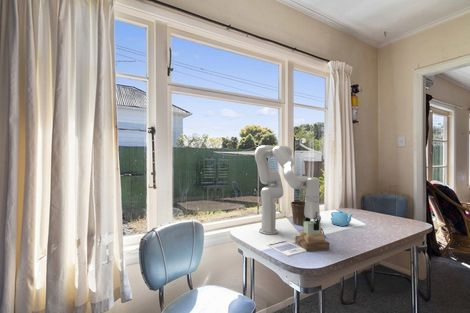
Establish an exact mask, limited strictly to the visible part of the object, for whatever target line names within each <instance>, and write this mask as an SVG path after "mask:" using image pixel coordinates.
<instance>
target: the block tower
mask: <svg viewBox="0 0 470 313" xmlns="http://www.w3.org/2000/svg"><path fill="white" fill-rule="evenodd" d="M324 235H325V233H324V234H323V232H322V233H320V234H307V233H305V232H304V229H302V230H301V229H300V230H299V235H295V237H294V238H295V241H294V242H295V245H297V246H299V247H301V248H304V249H305V250H306V252H319V251H330V242H329V241H327V240H326V239H325V236H324Z"/></svg>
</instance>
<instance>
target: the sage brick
mask: <svg viewBox="0 0 470 313" xmlns="http://www.w3.org/2000/svg"><path fill="white" fill-rule="evenodd" d="M321 226H322V225H321V222H320V224H319V230H316V231H314V220H311V221H304V227H303V230H304V232H305V233H307V234H320V233H321V232H322V231H321V228H322V227H321Z"/></svg>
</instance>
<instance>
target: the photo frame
mask: <svg viewBox="0 0 470 313" xmlns="http://www.w3.org/2000/svg"><path fill="white" fill-rule="evenodd" d="M282 242H286V243H287V244H290V245H292V246H294V247H295V248H290V249H287V250H282V251H281V250H279V249H278V248H276V247H274V246H272V245H275V244H279V243H282ZM266 246H267V247H269V248H270V249H273V250H274V251H277V252H279V253H280V254H282V255H283V256H286V257H290V256H294V255H298V254H302V253H305V252H307V251H306V250H305V249H304V248H301V247H300V246H299V245H298V244H296V243H295V244H294V243H292V242H290V241H287V240H281V241H277V242H271V243H268V244H266Z"/></svg>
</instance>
